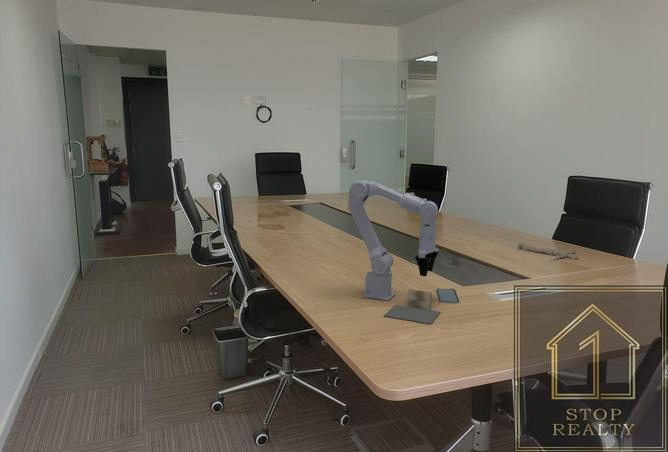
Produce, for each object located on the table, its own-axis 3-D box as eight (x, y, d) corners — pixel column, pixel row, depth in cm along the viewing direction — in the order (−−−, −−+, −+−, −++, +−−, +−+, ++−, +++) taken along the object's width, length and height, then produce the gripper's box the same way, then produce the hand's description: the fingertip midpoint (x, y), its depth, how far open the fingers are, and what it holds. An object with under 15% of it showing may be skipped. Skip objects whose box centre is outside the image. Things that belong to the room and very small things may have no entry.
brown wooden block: (407, 307, 174) (407, 290, 173) (408, 305, 175) (408, 289, 174) (429, 310, 171) (430, 293, 170) (430, 309, 172) (431, 292, 171)
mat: (383, 316, 164) (383, 315, 164) (395, 305, 175) (395, 304, 175) (431, 324, 158) (431, 323, 158) (440, 312, 168) (440, 311, 168)
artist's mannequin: (506, 254, 256) (564, 268, 234) (506, 246, 255) (565, 259, 233) (532, 245, 274) (589, 257, 252) (533, 238, 273) (590, 249, 251)
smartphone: (439, 301, 179) (435, 288, 193) (439, 304, 179) (435, 290, 193) (460, 302, 178) (455, 289, 192) (460, 305, 178) (455, 291, 192)
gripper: (433, 240, 168) (432, 279, 170) (443, 233, 180) (442, 269, 183) (413, 238, 171) (412, 277, 173) (424, 231, 183) (423, 267, 186)
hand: (426, 273), depth 178 cm, fingers open, 7 cm apart
